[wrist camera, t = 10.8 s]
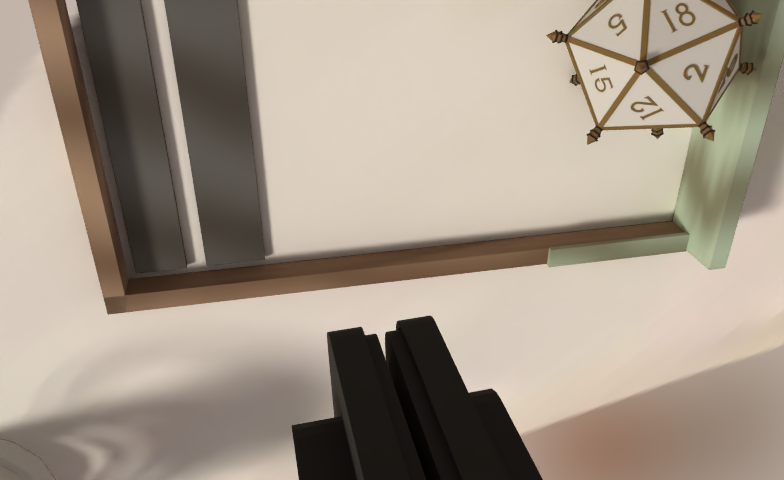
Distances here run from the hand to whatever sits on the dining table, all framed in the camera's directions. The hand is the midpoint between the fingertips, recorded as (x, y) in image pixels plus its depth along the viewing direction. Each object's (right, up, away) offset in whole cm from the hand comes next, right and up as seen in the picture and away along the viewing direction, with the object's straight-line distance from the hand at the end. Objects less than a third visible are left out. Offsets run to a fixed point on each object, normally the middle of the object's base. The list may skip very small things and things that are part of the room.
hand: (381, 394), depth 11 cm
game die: (+11, +13, +23) cm, 29 cm away
